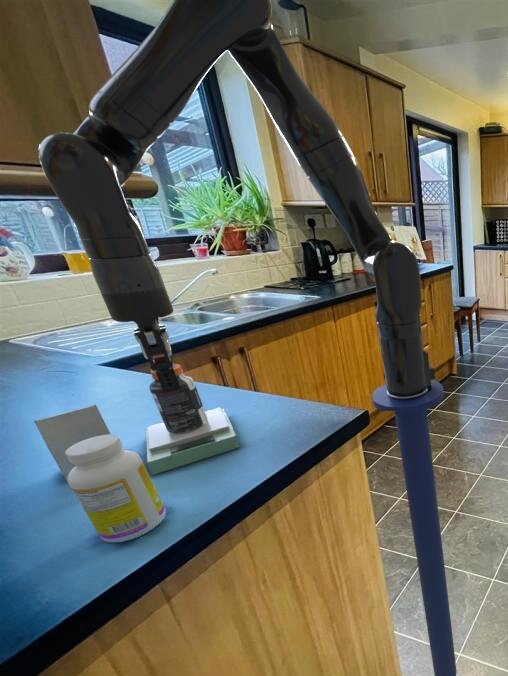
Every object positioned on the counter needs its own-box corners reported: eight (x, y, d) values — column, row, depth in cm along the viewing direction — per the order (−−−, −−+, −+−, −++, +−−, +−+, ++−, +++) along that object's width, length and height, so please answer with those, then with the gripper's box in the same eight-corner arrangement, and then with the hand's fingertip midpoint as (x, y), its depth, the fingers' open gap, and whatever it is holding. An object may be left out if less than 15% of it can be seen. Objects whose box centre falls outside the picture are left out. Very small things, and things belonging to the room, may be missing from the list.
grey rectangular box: (123, 461, 67) (98, 408, 63) (66, 481, 62) (34, 425, 58) (119, 453, 69) (94, 401, 65) (64, 472, 64) (33, 417, 60)
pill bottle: (216, 418, 74) (195, 361, 70) (192, 434, 69) (168, 374, 64) (185, 418, 74) (162, 361, 70) (158, 434, 69) (132, 374, 64)
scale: (227, 418, 80) (223, 405, 79) (240, 447, 70) (235, 432, 69) (150, 440, 73) (144, 426, 72) (152, 475, 63) (145, 459, 62)
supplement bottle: (140, 506, 57) (101, 427, 51) (180, 511, 56) (144, 431, 50) (87, 542, 51) (36, 457, 45) (130, 548, 50) (83, 462, 44)
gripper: (166, 289, 59) (202, 389, 65) (162, 278, 69) (194, 366, 75) (96, 297, 54) (142, 403, 61) (102, 284, 64) (142, 376, 71)
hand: (171, 382), depth 68 cm, fingers open, 8 cm apart
